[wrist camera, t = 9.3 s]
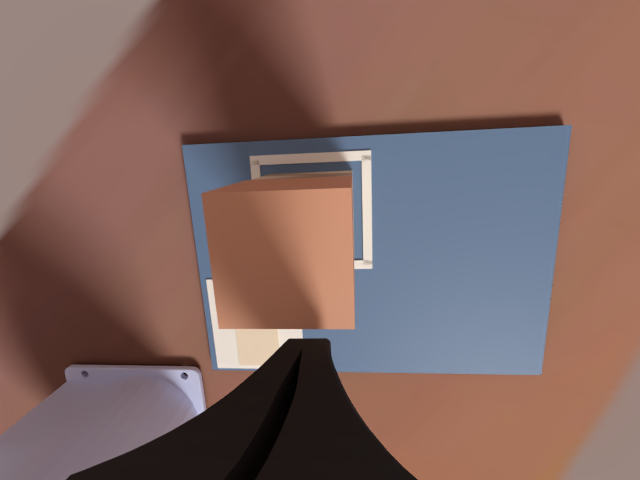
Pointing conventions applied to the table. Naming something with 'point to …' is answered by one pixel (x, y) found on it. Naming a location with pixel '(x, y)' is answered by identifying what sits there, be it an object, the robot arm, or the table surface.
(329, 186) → the terracotta cube
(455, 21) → the table surface
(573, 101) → the table surface
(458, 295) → the board
